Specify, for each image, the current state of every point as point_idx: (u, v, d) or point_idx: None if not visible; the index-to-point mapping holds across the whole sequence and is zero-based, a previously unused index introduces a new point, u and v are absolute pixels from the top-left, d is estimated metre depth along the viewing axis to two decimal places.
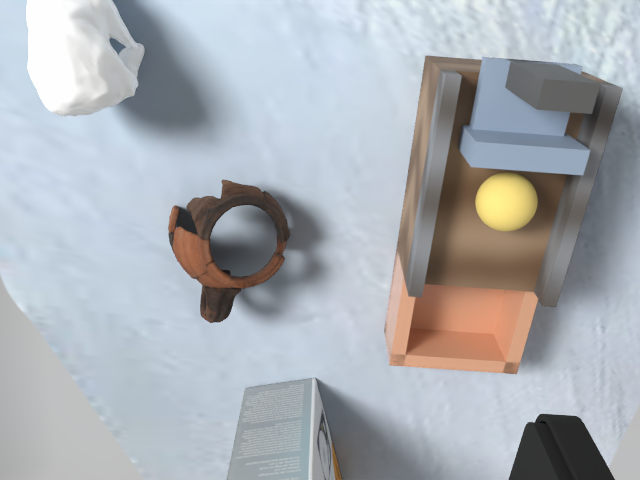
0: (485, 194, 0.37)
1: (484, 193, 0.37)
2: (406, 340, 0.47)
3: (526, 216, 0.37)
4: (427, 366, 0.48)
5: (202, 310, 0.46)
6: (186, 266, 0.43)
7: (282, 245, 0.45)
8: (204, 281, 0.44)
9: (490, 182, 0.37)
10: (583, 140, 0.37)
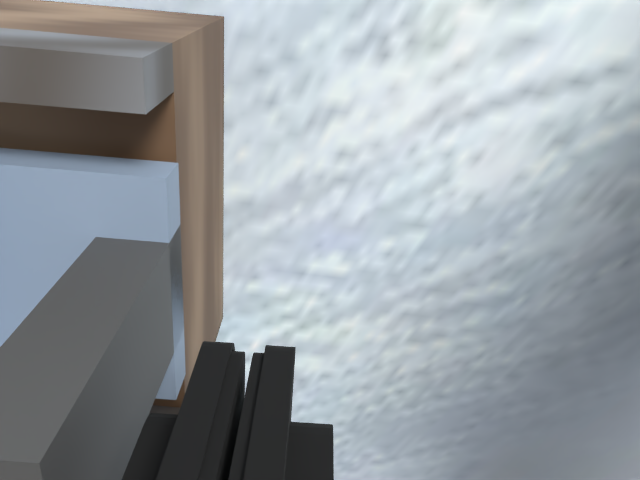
0: None
1: None
2: None
3: None
4: None
5: None
6: None
7: None
8: None
9: None
10: None
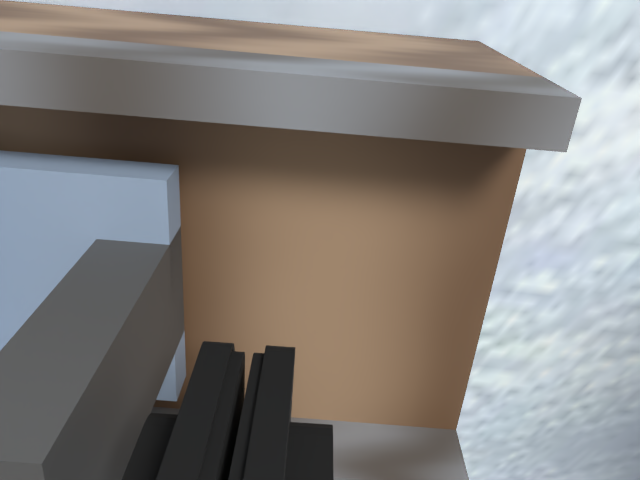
0: None
1: None
2: None
3: None
4: None
5: None
6: None
7: None
8: None
9: None
10: None
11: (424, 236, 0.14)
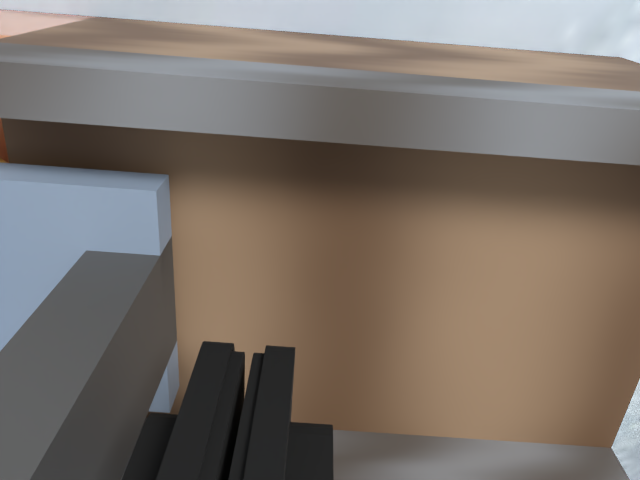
0: None
1: None
2: None
3: None
4: None
5: None
6: None
7: None
8: None
9: None
10: (494, 467, 0.15)
11: (608, 257, 0.13)
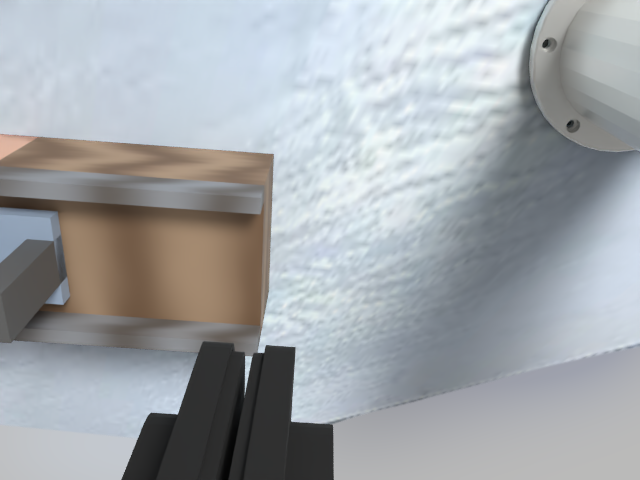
0: None
1: None
2: None
3: None
4: None
5: None
6: None
7: None
8: None
9: None
10: (202, 330, 0.36)
11: (231, 242, 0.35)
